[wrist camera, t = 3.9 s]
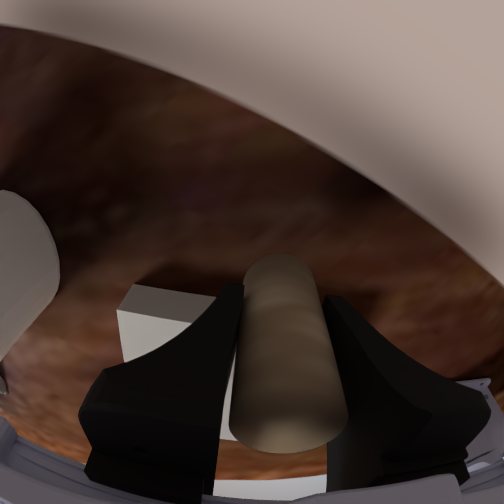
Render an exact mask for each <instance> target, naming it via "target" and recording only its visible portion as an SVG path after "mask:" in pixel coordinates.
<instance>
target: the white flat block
mask: <svg viewBox="0 0 504 504" xmlns="http://www.w3.org/2000/svg"><path fill="white" fill-rule="evenodd" d="M215 299H216V297H212V296H205V295H198V294H192V293H185V292H179V291H172V290H166V289H160V288H154V287H148V286H142V285H136V284H133V286H132V287H131V289H130V290H129V292H128V293H127V295H126V296H125V298H124V299H123V301H122V302H121V304H120V305H119V307H118V308H117V316H118V323H119V331H120V338H121V344H122V351H123V357H124V362H128V361H130V360H133V359H135V358H138V357H140V356H142V355H144V354H146V353H149V352H151V351H153V350H155V349H156V348H158V347H160V346H162V345H163V344H165V343H166V342H168V341H169V340H171V339H172V338H174V337H175V336H177V335H178V334H179V333H181V332H182V331H183V330H185V329H186V328H187V327H188V326H189V325H191V324H192V323H193V322H194V321H195V320H196V319H197V318H198V317H199V316H200V315H201V314H202V313H203V312H204V311H205V310H206V309H207V308H208V307H209V306H210V304H211V303H212V302H213V301H214V300H215ZM235 355H236V352H235ZM234 364H235V357H234V361H233V365H232V370H231V374H230V378H229V383H228V387H227V391H226V395H225V400H224V408H223V416H222V424H221V432H220V439H227V440H236V441H238V440H237V439H236V438H235V437H234V436H233V435H232V434H231V432H230V430H229V426H228V422H229V412H230V402H231V393H232V383H233V374H234Z"/></svg>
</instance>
